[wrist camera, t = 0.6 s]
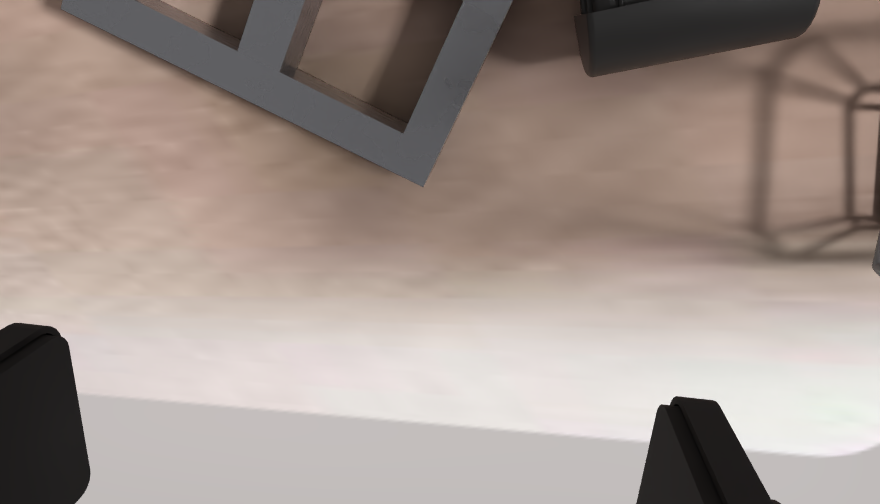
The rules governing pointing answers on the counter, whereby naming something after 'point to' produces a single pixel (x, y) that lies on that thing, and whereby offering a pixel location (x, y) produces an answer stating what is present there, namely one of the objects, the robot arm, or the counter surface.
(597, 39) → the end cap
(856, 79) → the counter surface
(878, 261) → the geometric lantern
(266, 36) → the grey windowed frame
